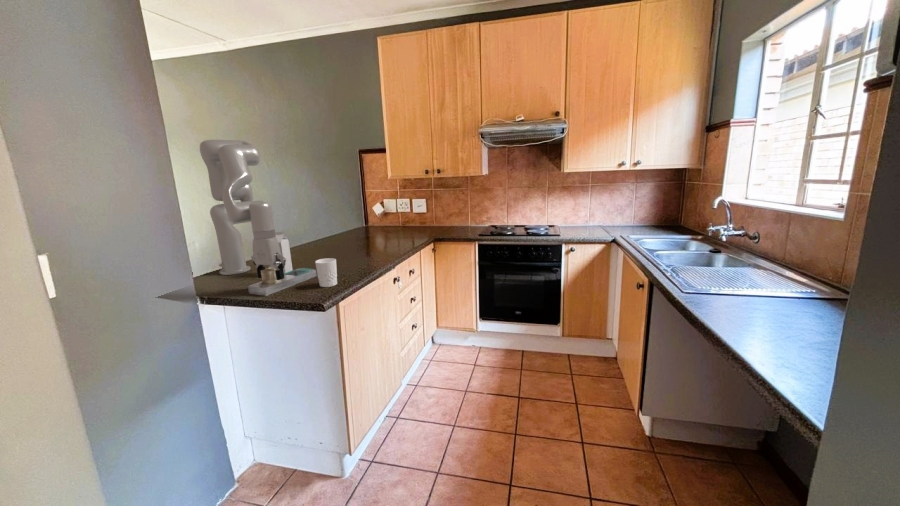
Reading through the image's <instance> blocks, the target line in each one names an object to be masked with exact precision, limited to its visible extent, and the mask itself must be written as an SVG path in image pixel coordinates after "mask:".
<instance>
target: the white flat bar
mask: <svg viewBox="0 0 900 506" xmlns="http://www.w3.org/2000/svg"><path fill="white" fill-rule="evenodd" d="M315 277H318V276H317V270H316V268H315V269H313V268H307V267H302V268H301V267H300V268H296V269H293V270H292V271H289V272H286V273H284V279H281V281H280V282H277V283H274V284H271V285H270V284H263V282H262V281H258V282H255V283H252V284H250V285H247V288H248V294H250V295H255V296H256V295H257V296H265V297H267V296H270V295H272V294H276V293H278V292H280V291H282V290H284V289H287V288H290V287H293V286H295V285H298V284H300V283H303V282H305V281H308V280H310V279H314V278H315Z"/></svg>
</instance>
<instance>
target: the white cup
mask: <svg viewBox="0 0 900 506" xmlns="http://www.w3.org/2000/svg"><path fill="white" fill-rule="evenodd" d="M314 264H315V270H316V275H317V276H316V277H317V279H318V283H319V287H320V288H330V287H334V286H336V285H338V268H337V266H338V265H337V259H336V258H333V257H330V258H329V257H328V258H327V257H326V258H320V259H317V260H315V262H314Z"/></svg>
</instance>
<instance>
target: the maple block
mask: <svg viewBox="0 0 900 506" xmlns="http://www.w3.org/2000/svg"><path fill="white" fill-rule="evenodd" d="M275 270H276V268H271V267H270V268H269V267H268V268H265V269H264V270H261V276H262V278H261V280H262V282H263V284H270V285H271V284H274V283H277V282H280V281H281V280H277V279H276V273H275Z"/></svg>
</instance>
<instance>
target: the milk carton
mask: <svg viewBox="0 0 900 506" xmlns="http://www.w3.org/2000/svg"><path fill="white" fill-rule="evenodd" d="M284 232H285V231H275V234H276V238H277V241H278V244H279V248H280V252H281V256H283V257H284V258H286V263H285V266H284V269H283V272H284V273H286V272H289V271H292V270H294V269H293V264H292V255H291V248H290V241H289V238H288V237H287V235H285V234H284ZM277 266H279V265H278V264H277ZM270 267H271V268H275V267H274V266H273V265H272V266H268V268H270Z"/></svg>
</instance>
